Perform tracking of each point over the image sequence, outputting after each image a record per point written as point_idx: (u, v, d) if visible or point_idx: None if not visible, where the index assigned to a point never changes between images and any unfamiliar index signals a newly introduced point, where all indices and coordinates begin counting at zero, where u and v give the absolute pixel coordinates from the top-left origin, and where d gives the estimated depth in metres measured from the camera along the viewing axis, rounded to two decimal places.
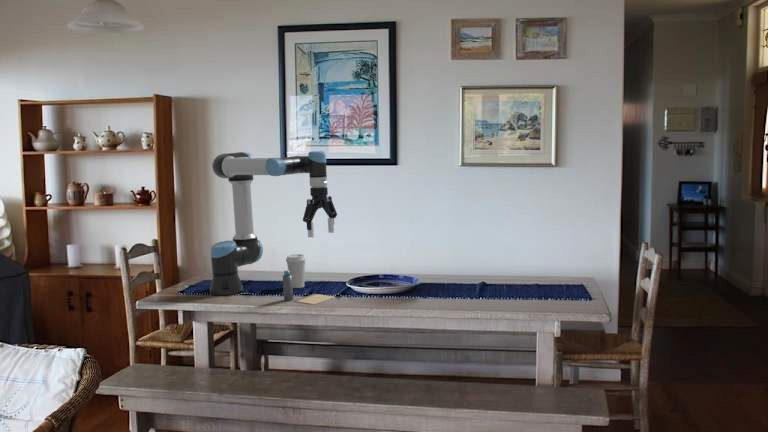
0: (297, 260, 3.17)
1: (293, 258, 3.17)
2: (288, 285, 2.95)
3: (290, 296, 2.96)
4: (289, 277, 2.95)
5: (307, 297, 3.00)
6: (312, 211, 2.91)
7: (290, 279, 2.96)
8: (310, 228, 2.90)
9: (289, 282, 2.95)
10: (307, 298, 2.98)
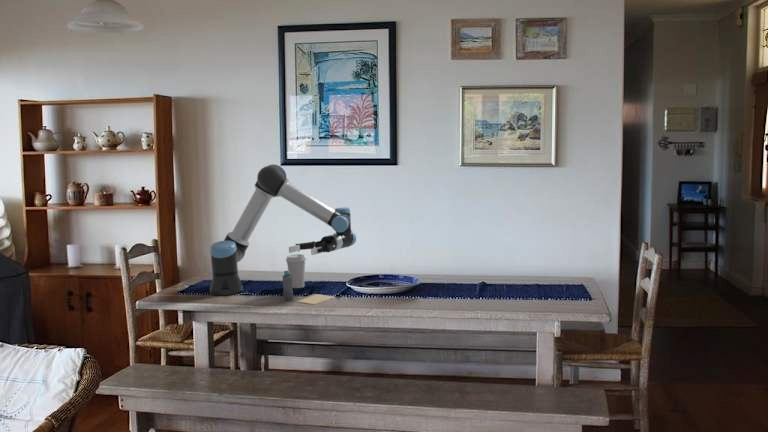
0: (297, 260, 3.17)
1: (293, 258, 3.17)
2: (288, 285, 2.95)
3: (290, 296, 2.96)
4: (289, 277, 2.95)
5: (307, 297, 3.00)
6: None
7: (290, 279, 2.96)
8: None
9: (289, 282, 2.95)
10: (307, 298, 2.98)
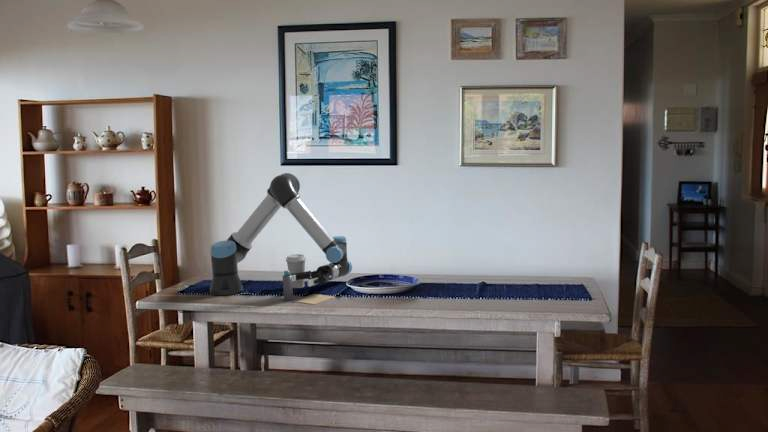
0: (297, 260, 3.17)
1: (293, 258, 3.17)
2: (288, 285, 2.95)
3: (290, 296, 2.96)
4: (289, 277, 2.95)
5: (307, 297, 3.00)
6: None
7: (290, 279, 2.96)
8: None
9: (289, 282, 2.95)
10: (307, 298, 2.98)
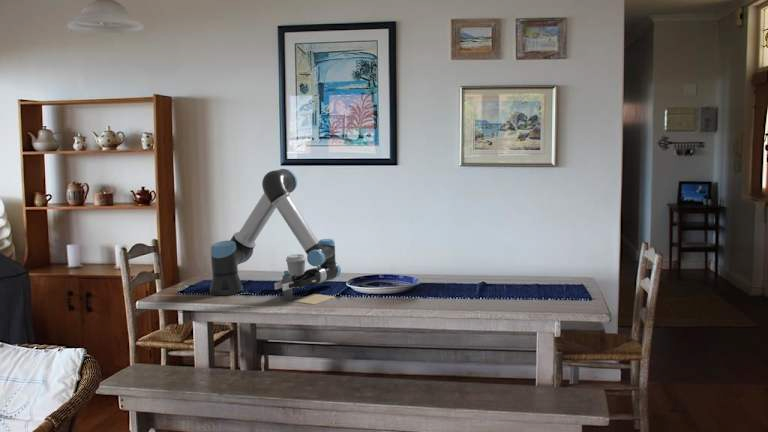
0: (297, 260, 3.17)
1: (293, 258, 3.17)
2: None
3: (290, 296, 2.96)
4: (289, 277, 2.95)
5: (307, 297, 3.00)
6: None
7: (290, 279, 2.96)
8: None
9: None
10: (307, 298, 2.98)
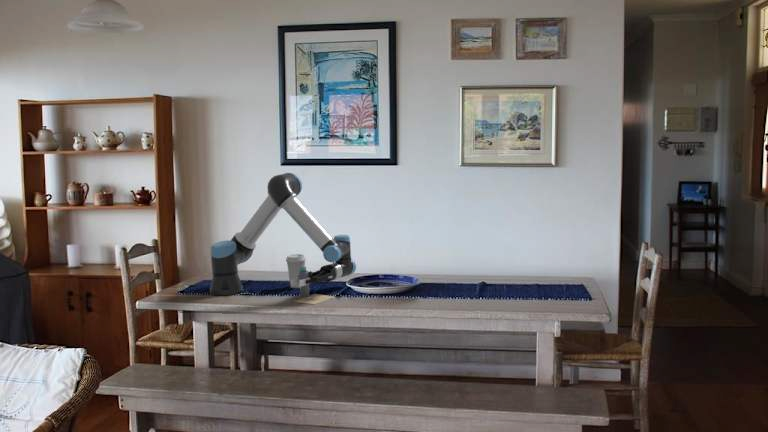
0: (297, 260, 3.17)
1: (293, 258, 3.17)
2: None
3: (306, 292, 2.94)
4: (305, 273, 2.93)
5: (307, 297, 3.00)
6: None
7: (306, 275, 2.94)
8: None
9: (305, 278, 2.94)
10: (307, 298, 2.98)
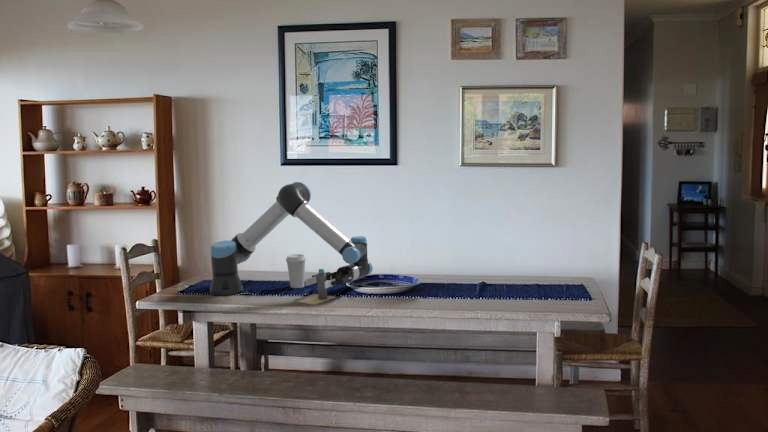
0: (297, 260, 3.17)
1: (293, 258, 3.17)
2: (322, 283, 2.94)
3: (324, 295, 2.95)
4: (324, 275, 2.94)
5: (307, 297, 3.00)
6: None
7: (325, 277, 2.95)
8: None
9: (324, 280, 2.94)
10: (307, 298, 2.98)
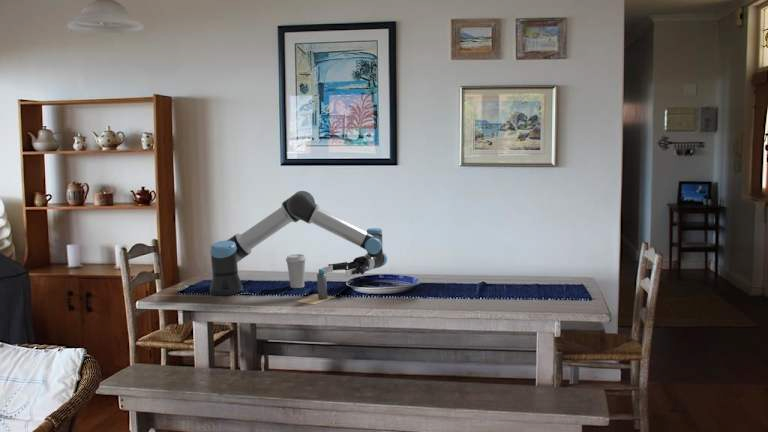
0: (297, 260, 3.17)
1: (293, 258, 3.17)
2: (322, 283, 2.94)
3: (324, 295, 2.95)
4: (324, 275, 2.94)
5: (307, 297, 3.00)
6: None
7: (325, 277, 2.95)
8: (327, 267, 3.12)
9: (324, 280, 2.94)
10: (307, 298, 2.98)
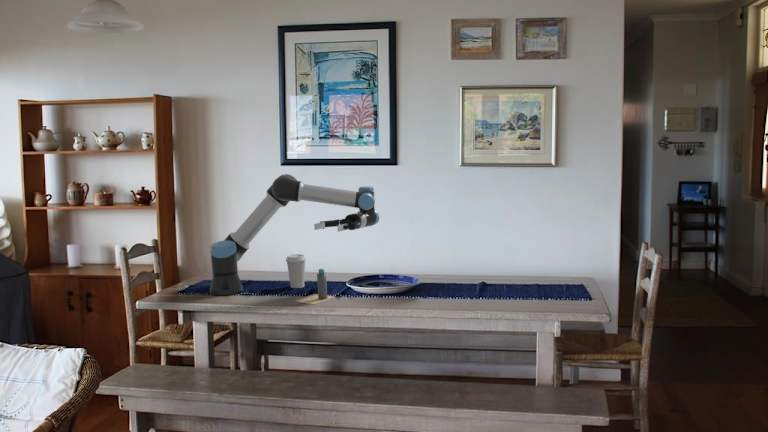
0: (297, 260, 3.17)
1: (293, 258, 3.17)
2: (322, 283, 2.94)
3: (324, 295, 2.95)
4: (324, 275, 2.94)
5: (307, 297, 3.00)
6: None
7: (325, 277, 2.95)
8: None
9: (324, 280, 2.94)
10: (307, 298, 2.98)
